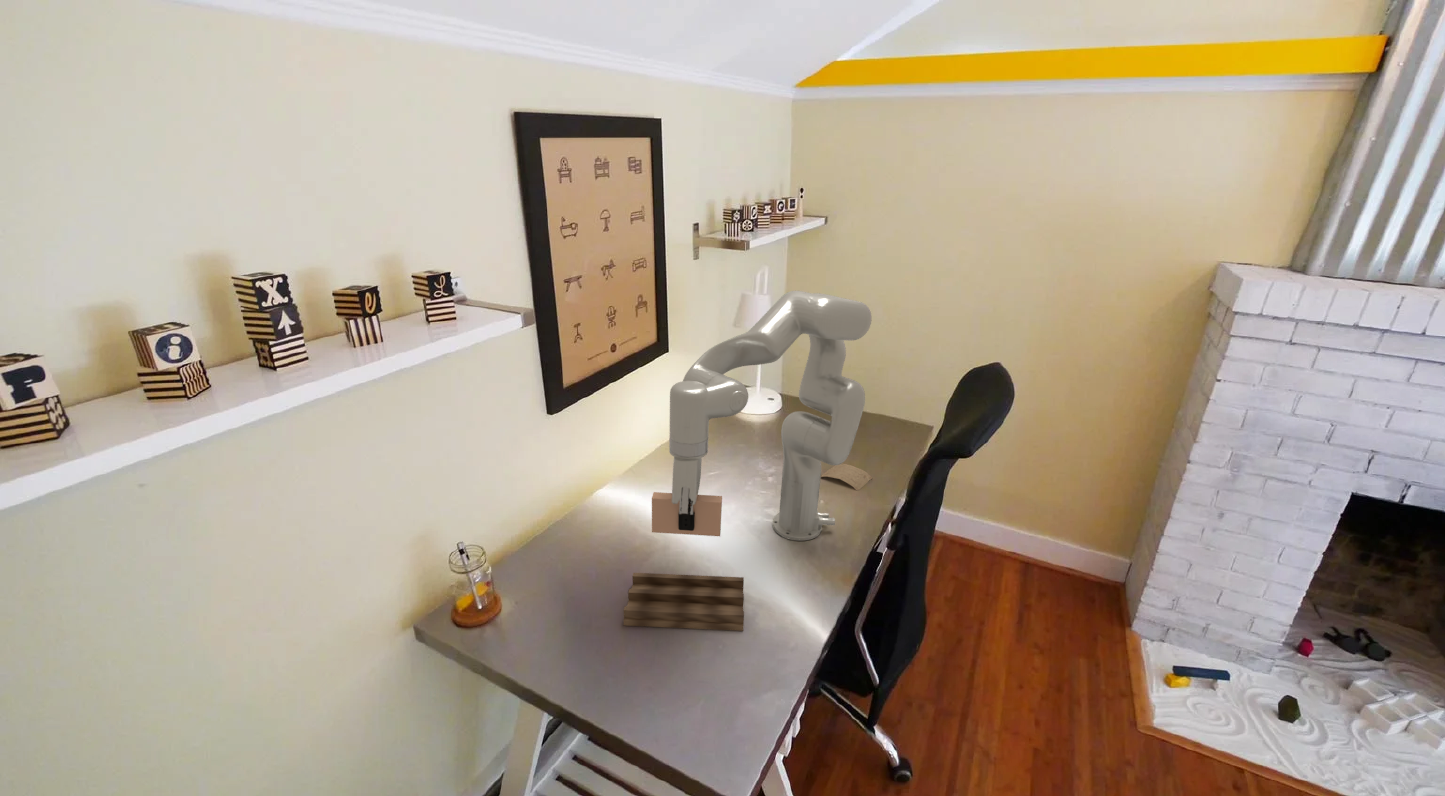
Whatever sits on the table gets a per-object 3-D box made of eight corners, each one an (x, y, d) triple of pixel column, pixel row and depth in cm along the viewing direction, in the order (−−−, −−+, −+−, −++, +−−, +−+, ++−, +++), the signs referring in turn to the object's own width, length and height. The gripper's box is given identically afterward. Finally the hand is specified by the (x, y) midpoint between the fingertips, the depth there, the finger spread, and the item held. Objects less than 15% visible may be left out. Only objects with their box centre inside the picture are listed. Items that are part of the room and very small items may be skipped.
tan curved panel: (874, 480, 177) (875, 472, 176) (860, 494, 170) (862, 486, 169) (830, 466, 185) (830, 458, 184) (815, 478, 177) (816, 470, 176)
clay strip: (720, 529, 123) (722, 496, 120) (720, 536, 120) (721, 502, 117) (653, 525, 123) (653, 492, 120) (651, 532, 121) (651, 498, 118)
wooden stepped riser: (742, 589, 129) (743, 576, 128) (743, 630, 118) (744, 617, 117) (634, 584, 130) (633, 571, 128) (623, 625, 118) (623, 611, 117)
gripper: (674, 426, 122) (673, 503, 129) (663, 462, 107) (663, 547, 114) (710, 428, 122) (708, 505, 129) (705, 464, 107) (702, 549, 114)
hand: (687, 524), depth 121 cm, fingers closed on clay strip, 2 cm apart
